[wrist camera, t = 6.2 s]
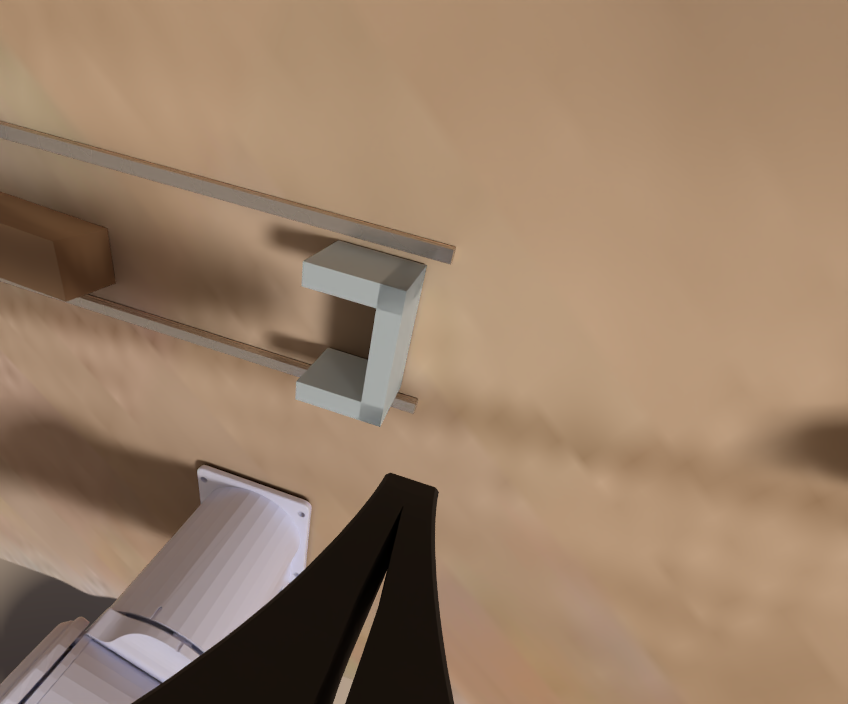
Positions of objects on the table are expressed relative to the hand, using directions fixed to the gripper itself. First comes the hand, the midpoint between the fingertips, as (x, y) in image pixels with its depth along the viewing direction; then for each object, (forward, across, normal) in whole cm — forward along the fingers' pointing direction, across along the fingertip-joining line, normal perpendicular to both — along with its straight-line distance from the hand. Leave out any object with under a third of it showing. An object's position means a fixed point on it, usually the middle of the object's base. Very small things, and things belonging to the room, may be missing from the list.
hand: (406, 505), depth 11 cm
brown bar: (+10, +24, +1) cm, 25 cm away
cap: (+10, +4, 0) cm, 10 cm away
